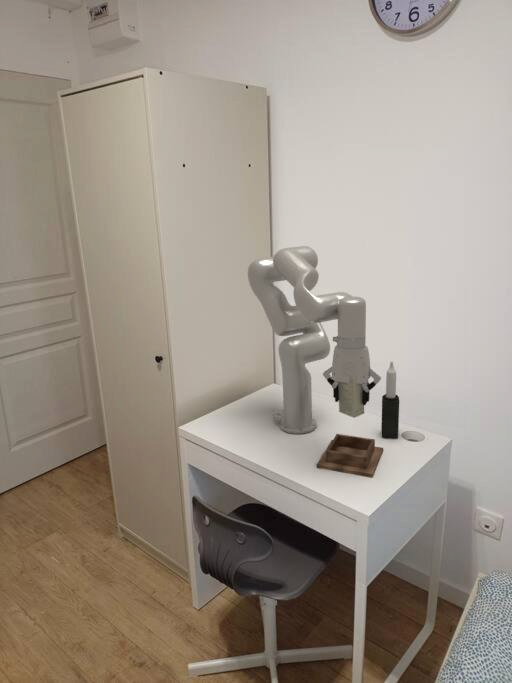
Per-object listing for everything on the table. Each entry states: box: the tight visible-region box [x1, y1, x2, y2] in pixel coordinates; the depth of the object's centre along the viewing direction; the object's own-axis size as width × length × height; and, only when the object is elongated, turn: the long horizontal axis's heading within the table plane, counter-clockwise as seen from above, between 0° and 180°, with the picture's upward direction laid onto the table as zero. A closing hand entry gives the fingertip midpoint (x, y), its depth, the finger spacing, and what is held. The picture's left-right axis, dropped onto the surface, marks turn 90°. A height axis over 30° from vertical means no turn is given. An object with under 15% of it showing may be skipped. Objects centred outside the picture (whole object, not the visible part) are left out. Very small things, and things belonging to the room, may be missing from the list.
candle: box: [380, 360, 400, 440], centre depth 158 cm, size 5×5×25 cm
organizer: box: [316, 433, 384, 478], centre depth 147 cm, size 16×16×4 cm
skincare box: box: [338, 377, 365, 419], centre depth 142 cm, size 6×4×12 cm
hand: (351, 401), depth 143 cm, fingers closed on skincare box, 7 cm apart
